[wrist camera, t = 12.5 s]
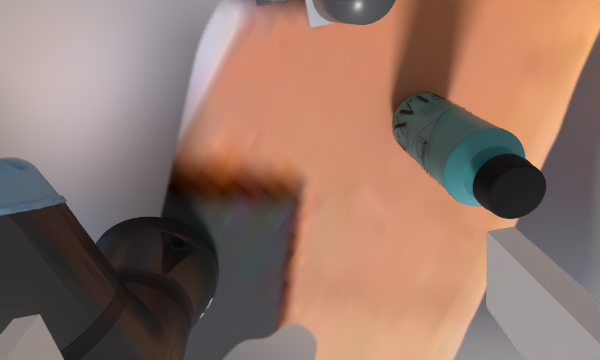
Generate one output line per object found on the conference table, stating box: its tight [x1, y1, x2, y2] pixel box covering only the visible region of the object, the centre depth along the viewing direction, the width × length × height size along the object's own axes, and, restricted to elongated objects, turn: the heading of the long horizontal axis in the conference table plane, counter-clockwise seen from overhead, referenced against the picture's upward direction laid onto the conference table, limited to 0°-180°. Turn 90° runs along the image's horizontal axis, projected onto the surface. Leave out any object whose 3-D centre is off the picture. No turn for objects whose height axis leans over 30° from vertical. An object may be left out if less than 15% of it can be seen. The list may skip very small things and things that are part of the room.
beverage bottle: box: [392, 92, 546, 219], centre depth 35 cm, size 6×7×20 cm
